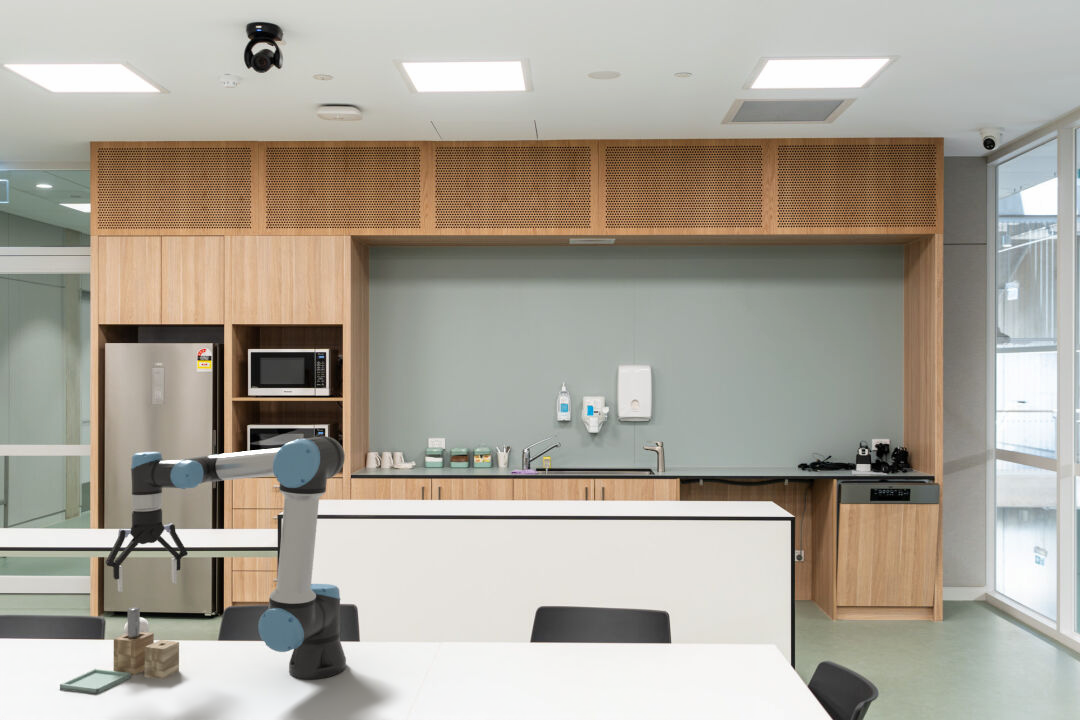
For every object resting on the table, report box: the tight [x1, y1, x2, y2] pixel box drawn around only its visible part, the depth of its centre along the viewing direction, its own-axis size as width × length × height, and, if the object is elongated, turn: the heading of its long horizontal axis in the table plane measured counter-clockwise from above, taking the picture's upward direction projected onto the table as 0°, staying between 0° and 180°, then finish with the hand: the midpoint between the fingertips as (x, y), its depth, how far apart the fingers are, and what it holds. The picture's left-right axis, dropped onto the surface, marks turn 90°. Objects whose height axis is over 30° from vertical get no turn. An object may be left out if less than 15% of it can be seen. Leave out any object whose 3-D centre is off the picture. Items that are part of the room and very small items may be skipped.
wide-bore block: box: [113, 632, 155, 675], centre depth 227 cm, size 7×7×9 cm
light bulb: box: [123, 616, 150, 635], centre depth 238 cm, size 7×7×11 cm
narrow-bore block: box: [144, 639, 180, 680], centre depth 224 cm, size 6×6×8 cm
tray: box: [59, 668, 132, 695], centre depth 217 cm, size 12×12×1 cm
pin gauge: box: [127, 606, 141, 639], centre depth 227 cm, size 3×3×15 cm
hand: (147, 586), depth 226 cm, fingers open, 13 cm apart
